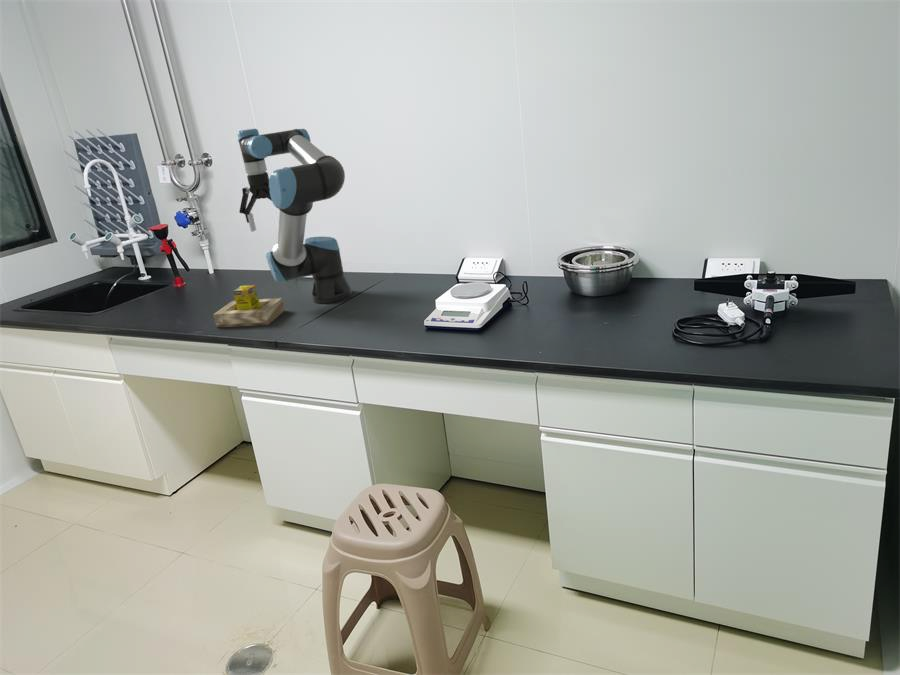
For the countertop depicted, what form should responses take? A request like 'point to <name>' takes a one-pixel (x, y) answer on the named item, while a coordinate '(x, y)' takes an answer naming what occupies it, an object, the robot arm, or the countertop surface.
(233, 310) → the wooden tray
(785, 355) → the countertop surface
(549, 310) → the countertop surface
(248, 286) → the supplement box
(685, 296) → the countertop surface
